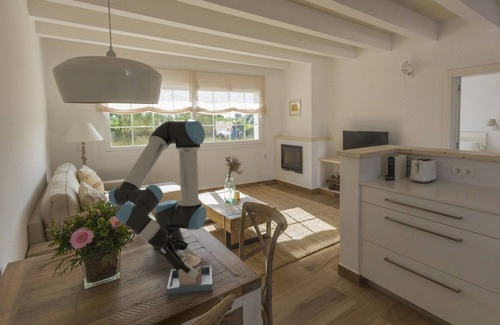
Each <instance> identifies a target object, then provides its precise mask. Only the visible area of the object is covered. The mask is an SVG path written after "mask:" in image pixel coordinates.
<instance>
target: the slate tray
mask: <svg viewBox="0 0 500 325" xmlns="http://www.w3.org/2000/svg"><path fill="white" fill-rule="evenodd" d="M201 277H202V282H201V284H194V285H185V286H180V285H179V272H178V271H177V270H176V269H175V268H172V269H170V274H169V278H168V282H167V287H166V295H167V297H175V296H181V295H182V296H183V295H189V294H197V293H206V292H213V271H212V265H203V266H202V265H201Z"/></svg>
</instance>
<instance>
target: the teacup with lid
mask: <svg viewBox="0 0 500 325" xmlns="http://www.w3.org/2000/svg"><path fill="white" fill-rule="evenodd" d="M180 258H181V259H182V261H183V262H184V263H185V262H186V263H187V264H188V265H190V266H191V267H192V268H193V269H195V270H196V271H197V272H198V274H197V276H196V277H195V278H194V279H193V278H192V277H190V276H189V275H188V274H187V273H185V272H184V271H183V270H181V269H180V270H179V271H178V272H179V285H180V286H185V285H194V284H201V282H202V277H201V266H202V265H201V264H202V260H201V258H200V256H199V257H197V256H192V255H191V254H188V255H185V256H184V257H180Z"/></svg>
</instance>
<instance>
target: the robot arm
mask: <svg viewBox="0 0 500 325" xmlns="http://www.w3.org/2000/svg"><path fill="white" fill-rule="evenodd" d="M205 136H206V135H205V130H204V126H203V125H202V123H201V122H200V121H199V120H197V119H169V120H167V121H164V122H163V123H161V124H160V125H158V126H157V128H155V130H154V131H153V132H152V133H151V134H150V135H149V137H148V143H147V144H146V146H145V147H144V149H143V151H142V152H141V153H140V155H139V157H138V159H137V160H136V162H135V163H134V164H133V166H131V169H130V170H129V172H128V173H127V174H126V176H125V178H124V180H123V181H122V183H121V184H120V186H119V187H118V186H117V187H114V188H111V189H110V191H109V192H108V197H107V198H108V201H109V203H110V204H111V205H113V206H117V207H120V209H118V210H117V211H116V213H115V218H116V219H117V220H118V222H120V223H121V224H122V225H123V226H126V227H127V228H128V229H129V230H131V231H132V232H133V233H134V234H136V235H137V236H139V238H140V239H142V240H144V241H145V242H146V241H147V244H149V245H150V246H152V247H153V248H154V249H155V250H157V251H159V253H160V254H161V255H162V256H163V257H165V259H166V260H167V261H168V262H169V263H170V264H171V266H172V267H173V269H176V270H177V271H179V270H180V269H181V270H183V271H184V272H185V273H187V274H188V275H189V276H190V277H192V278H193V279H194V278H195V277H196V276H197V274H198V272H197V271H196V270H195V269H193V268H192V267H191V266H190V265H188V264H187V263H186V262H185V263H184V262H183V261H182V259H181V258H182V257H180V255H179V254H178V252H177V251H176V250H180V251H182V253H183V254H185V256H187V255H188V254H191V255H192V256H197V257H199V258H200V255H199V254H197V253H196V252H195V251H193V250H192V249H191V248H190V247H189V243H187V242H186V241H185V238H184V235H183V233H182V230H181V229H184V230H185V229H186V230H189V231H191V230H194V231H198V230H200V229H202V227H203V226H204V224H205V222H206V219H207V215H208V214H207V211H208V210H207V209H206V207H205V206H203V205H202V200H201V199H200V198H199V169H198V150H199V149H200V148H201V144H203V143H204V142H205V138H206V137H205ZM173 144H174V145H175V149H176V150H177V151H178V156H179V181H180V182H179V185H180V186H179V188H180V200H178V199H171V200H170V199H169V200H165V201H162V202H160V201H161V200H162V199H163V197H164V193H163V190H162V189H161V187H160V186H157V185H156V184H150V185H148V186H147V187H145V189H141V188H142V187H143V185H144V183H145V182H146V180H147V178H148V177H149V175H150V173H151V172H152V169H153V168H154V166H155V164H157V161H158V159H159V158H160V157H161V155H162V153H163V152H164V151H166V150H167V149H168V148H169V146H170V145H173ZM153 210H155V211H154V216H155V217H154V218H155V219H153V217H152V218H151V217H150V214H151V213H152V211H153Z"/></svg>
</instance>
